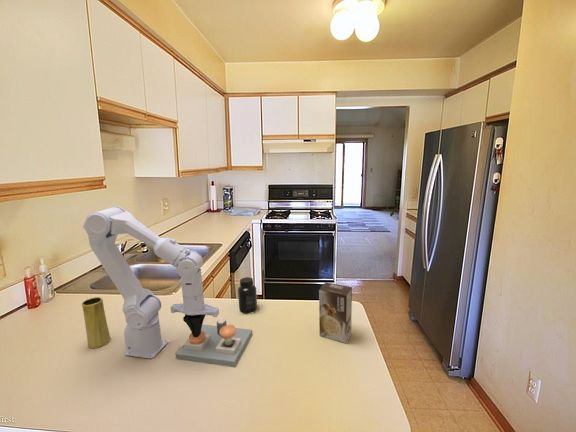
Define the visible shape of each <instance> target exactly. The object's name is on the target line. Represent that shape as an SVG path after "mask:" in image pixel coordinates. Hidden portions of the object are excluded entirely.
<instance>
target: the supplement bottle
mask: <svg viewBox="0 0 576 432" xmlns="http://www.w3.org/2000/svg"><path fill="white" fill-rule="evenodd" d="M257 294H258V293H257V287H256V286H255V284H254V279H253V278H252V277H249V276H248V277H243V278H242V277H241V278H240V280H239V287H238V289H237V296H238V299H237V300H238V309H239V312H240V313H242V314H246V315H247V314H252V313H255V312H256V311H257V310H258V295H257Z"/></svg>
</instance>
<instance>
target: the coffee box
mask: <svg viewBox="0 0 576 432" xmlns="http://www.w3.org/2000/svg"><path fill="white" fill-rule="evenodd" d="M352 298H353V287H351V286H347V285H342V284H337V283H336V284H335V283H332V282H324V283H323V285H322V286H320V289H318V299H319V300H318V304H319V305H318V311H319V313H318V314H319V318H318V320H319V337H322V338H324V339H325V338H326V339H329V340H333V341H336V342H340V343H342V344H343V343H344V344H348V341H349V340H350V338H351V335H352V310H353V309H352V307H353V305H352V303H353V301H352V300H353V299H352Z"/></svg>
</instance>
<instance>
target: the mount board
mask: <svg viewBox="0 0 576 432" xmlns="http://www.w3.org/2000/svg"><path fill="white" fill-rule="evenodd" d="M235 328H236V334H235V336H233V337H232V344H231V345H225V341H224V339H223V338H221V337H220V335H218V333H217V325H211V324H204V323H203V324H202V328H201V331H203V332H205V340H204V341H203V342H201V343H200V344H191V343H190V342H189V338H188V339H187V340H186V341H185V342H184V343H183V345H182V346H181V347H179V348H178V350H177V352H176V353H175V354H174V355H175V359H176V360H180V361H181V360H183V361H189V362H198V363H204V364H212V365H217V366H225V367H226V366H227V367H233V368H234V367H236V366H237V363H239V360H240V358H241V356H242V355H243V352H244V350H245V349H246V347H247V345H248V343H249V341H250V339H251V338H252V335H253V329H250V328H249V329H248V328H240V327H239V328H238V327H235Z"/></svg>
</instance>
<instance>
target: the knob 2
mask: <svg viewBox="0 0 576 432" xmlns="http://www.w3.org/2000/svg"><path fill="white" fill-rule="evenodd" d="M236 328H237V327H235V326H234V325H233V324H227V325H226V326H223V327H221V328H220V330H219V332H220V337H221V338H223V339H224V341H225V345H231V344H232V337H233V336H235V334H236Z"/></svg>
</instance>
